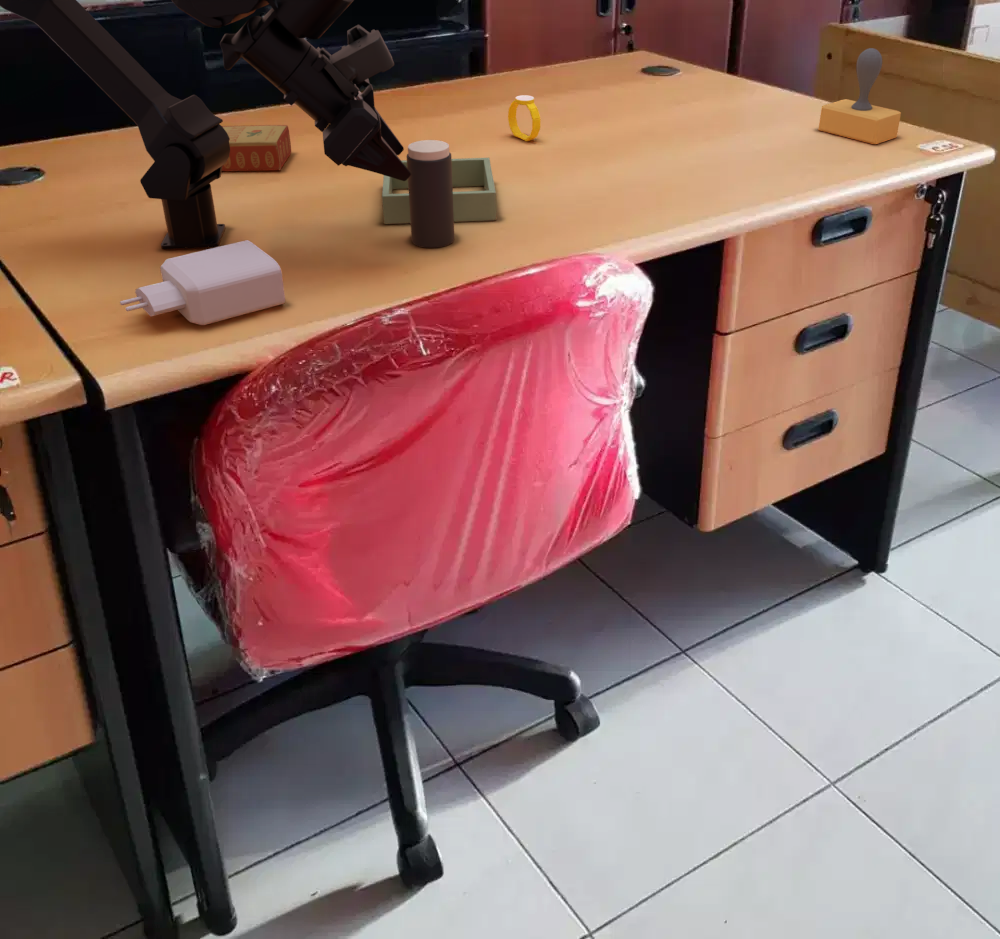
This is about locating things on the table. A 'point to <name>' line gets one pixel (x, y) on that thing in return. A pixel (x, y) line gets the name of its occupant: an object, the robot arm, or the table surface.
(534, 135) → the watch
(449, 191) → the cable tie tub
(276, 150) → the carton
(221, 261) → the charger
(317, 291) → the table surface
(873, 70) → the rubber stamp
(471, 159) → the box
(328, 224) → the table surface
